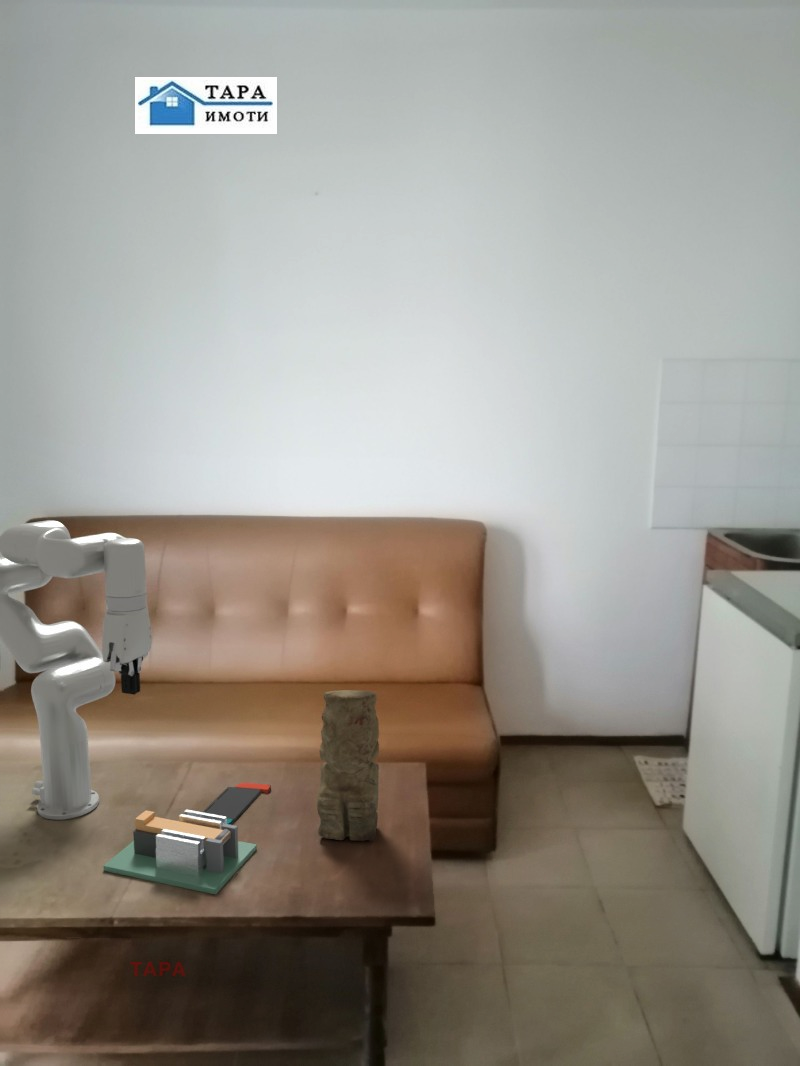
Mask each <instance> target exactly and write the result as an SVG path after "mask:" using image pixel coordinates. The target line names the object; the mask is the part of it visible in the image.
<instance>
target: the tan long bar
mask: <svg viewBox="0 0 800 1066" xmlns="http://www.w3.org/2000/svg"><path fill="white" fill-rule="evenodd" d="M134 823H135V824H134V825H135V826H134V827H135V829H137V830H142V831H147V832H152V833H157V834H162V830H163V829H167V830H172V831H178V832H183V833H188V834H193V835H199V836H204V837H205V838H206V840H207V839H208V838H212V839H217V840H222V841H223V844H224V843H225V842H226V841H227V840H228V839H229V838H230V837H231V832H230V831H229V830H228V829H224V830H221V829H216V828H211V827H205V826H200V825H195V824H190V823H185V822H180V821H179V820H175V819H174V820H172V819H169V818H168V819H167V818H163V817H159V816H155V811H152V810H151V811H150V810H144V811H143V812H142V813H140V814H139V815H138V816H137V817H136V818H135V819H134Z"/></svg>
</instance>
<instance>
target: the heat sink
mask: <svg viewBox="0 0 800 1066" xmlns="http://www.w3.org/2000/svg"><path fill="white" fill-rule="evenodd" d="M183 813H184V814H182V813H181V814H179V815H178V821H180V822H185V823H190V824H195V825H200V826H205V827H211V828H216V829H221V826H222V825H223V824H227V817H225V816H220V815H214V814H209V813H203V811H197V810H191V809H187V808H186V809H185V810H184V811H183ZM156 866H157V868H158V869H163V870H168V871H172V872H177V873H182V874H187V875H192V876H196V877H199V876H200V875H201V874H202V873H203V872H204V871H205V870H206V869H207V857H206V838H205V837H204V836H199V835H193V834H188V833H183V832H178V831H172V830H167V829H163V830H162V834H157V835H156Z"/></svg>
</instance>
